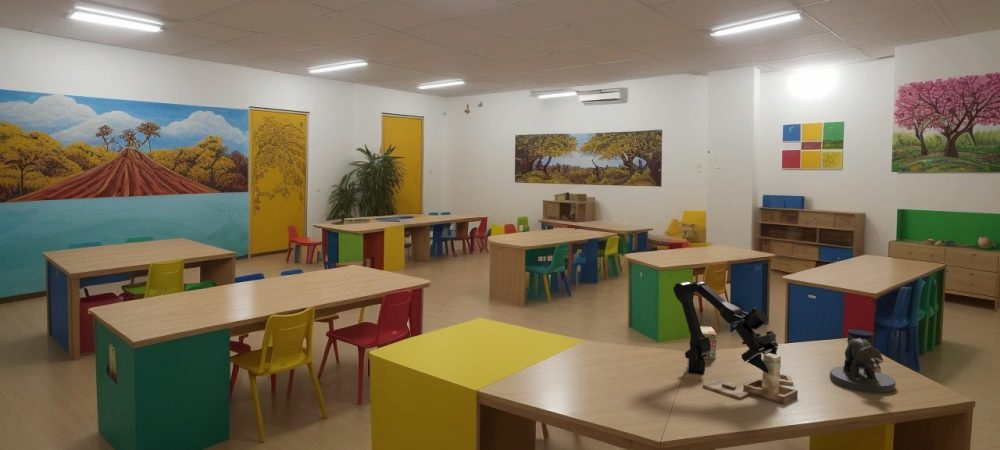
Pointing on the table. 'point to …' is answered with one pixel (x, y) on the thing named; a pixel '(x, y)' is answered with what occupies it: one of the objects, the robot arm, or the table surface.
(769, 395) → the tan wooden shallow tray
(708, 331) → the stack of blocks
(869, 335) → the storage jar
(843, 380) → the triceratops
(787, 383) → the square wooden frame
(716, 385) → the lid
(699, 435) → the table surface
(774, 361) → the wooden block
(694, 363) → the robot arm
